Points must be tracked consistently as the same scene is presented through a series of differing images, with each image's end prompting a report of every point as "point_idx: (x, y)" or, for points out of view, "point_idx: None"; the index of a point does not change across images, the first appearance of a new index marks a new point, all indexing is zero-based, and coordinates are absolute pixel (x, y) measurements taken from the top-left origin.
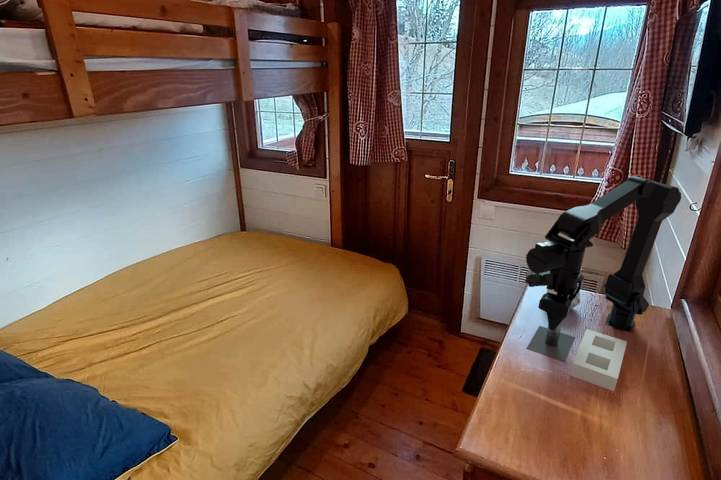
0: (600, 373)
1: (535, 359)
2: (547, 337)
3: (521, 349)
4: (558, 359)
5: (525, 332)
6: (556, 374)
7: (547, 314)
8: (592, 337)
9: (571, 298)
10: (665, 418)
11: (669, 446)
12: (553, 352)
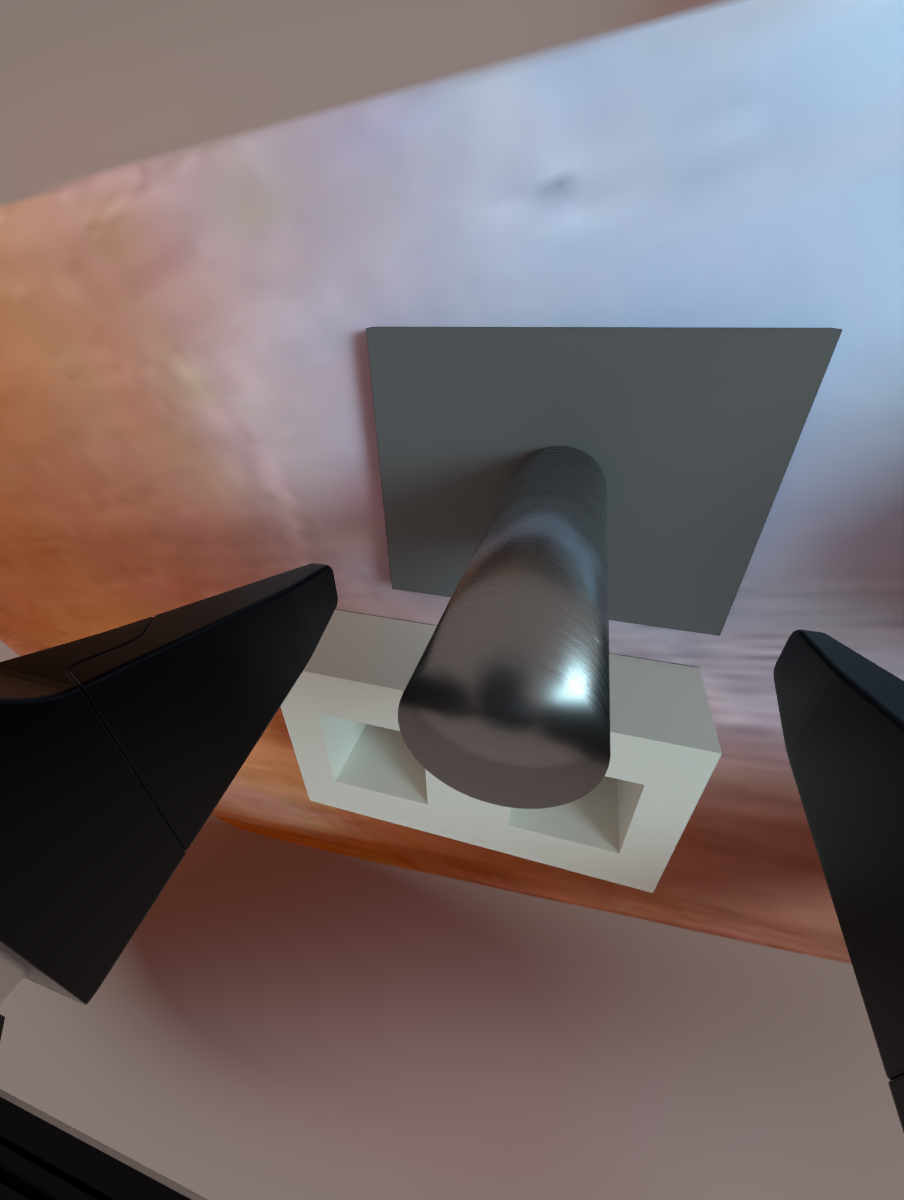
0: (298, 755)
1: (328, 423)
2: (511, 481)
3: (365, 285)
4: (393, 557)
5: (664, 210)
6: (293, 553)
7: (20, 665)
8: (607, 769)
9: (894, 1015)
10: (343, 824)
11: (252, 806)
12: (444, 523)
